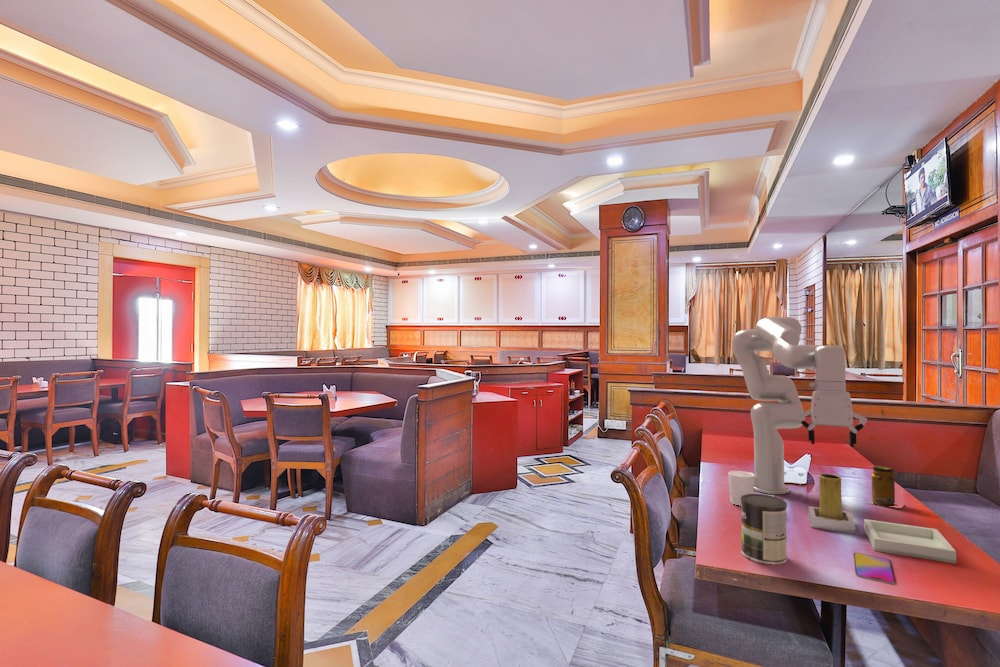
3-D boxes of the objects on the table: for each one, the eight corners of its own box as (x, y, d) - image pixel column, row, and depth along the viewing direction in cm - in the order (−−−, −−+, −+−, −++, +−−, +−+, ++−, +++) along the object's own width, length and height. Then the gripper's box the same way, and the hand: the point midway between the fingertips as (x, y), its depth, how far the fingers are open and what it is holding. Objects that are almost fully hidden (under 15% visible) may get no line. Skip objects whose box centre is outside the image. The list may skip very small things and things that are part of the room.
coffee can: (739, 559, 123) (739, 502, 123) (742, 544, 132) (742, 491, 132) (787, 568, 118) (786, 509, 118) (787, 552, 126) (787, 497, 127)
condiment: (874, 499, 169) (873, 463, 169) (905, 505, 162) (905, 468, 162) (867, 503, 164) (867, 467, 164) (899, 510, 157) (899, 472, 157)
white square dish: (811, 527, 143) (811, 516, 143) (808, 516, 152) (808, 506, 152) (855, 534, 138) (854, 523, 138) (849, 521, 147) (849, 511, 147)
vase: (835, 530, 141) (835, 480, 141) (813, 523, 147) (813, 474, 147) (847, 526, 144) (847, 477, 144) (825, 519, 149) (825, 472, 150)
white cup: (729, 506, 162) (728, 475, 162) (727, 499, 169) (727, 469, 169) (756, 509, 159) (755, 478, 159) (753, 501, 166) (753, 471, 166)
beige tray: (874, 550, 127) (874, 538, 127) (864, 529, 141) (864, 519, 141) (956, 563, 120) (956, 551, 120) (936, 540, 134) (936, 529, 134)
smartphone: (889, 559, 122) (896, 583, 110) (889, 561, 122) (896, 586, 110) (853, 552, 126) (855, 574, 114) (853, 554, 126) (855, 577, 114)
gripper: (797, 386, 148) (798, 444, 147) (868, 388, 139) (870, 449, 139) (796, 385, 154) (797, 440, 154) (864, 387, 146) (865, 445, 145)
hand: (831, 444), depth 146 cm, fingers open, 9 cm apart
